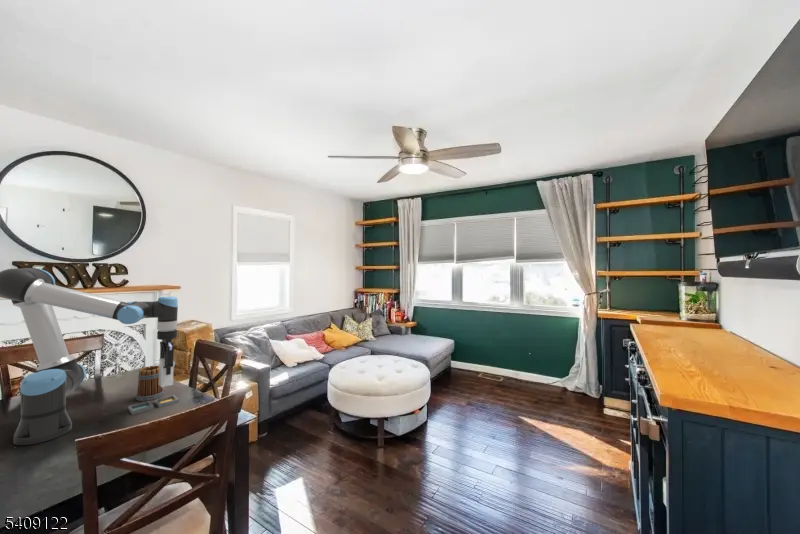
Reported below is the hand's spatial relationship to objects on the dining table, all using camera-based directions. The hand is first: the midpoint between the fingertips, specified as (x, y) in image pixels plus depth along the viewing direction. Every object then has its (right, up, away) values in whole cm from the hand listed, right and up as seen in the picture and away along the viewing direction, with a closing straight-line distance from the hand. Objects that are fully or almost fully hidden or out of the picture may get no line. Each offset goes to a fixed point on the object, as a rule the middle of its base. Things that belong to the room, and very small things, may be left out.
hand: (165, 379), depth 152 cm
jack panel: (-3, -12, -3) cm, 12 cm away
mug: (-12, -12, +9) cm, 19 cm away
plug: (0, -2, 0) cm, 2 cm away
